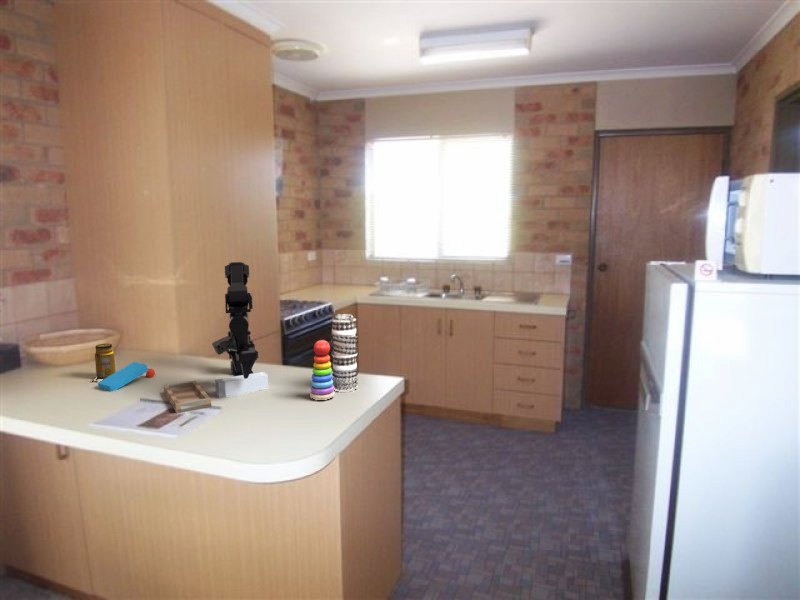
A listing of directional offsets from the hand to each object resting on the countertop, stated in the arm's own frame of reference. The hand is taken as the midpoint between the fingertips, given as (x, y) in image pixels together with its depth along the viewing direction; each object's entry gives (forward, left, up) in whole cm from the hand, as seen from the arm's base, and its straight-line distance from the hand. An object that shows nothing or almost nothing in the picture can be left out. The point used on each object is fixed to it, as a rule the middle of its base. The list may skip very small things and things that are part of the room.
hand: (241, 374), depth 179 cm
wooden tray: (+17, -2, -6) cm, 18 cm away
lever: (+30, -30, -6) cm, 43 cm away
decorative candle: (-30, +15, -6) cm, 34 cm away
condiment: (+37, -41, -6) cm, 55 cm away
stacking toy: (-20, +19, -6) cm, 28 cm away
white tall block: (0, 0, -6) cm, 6 cm away
